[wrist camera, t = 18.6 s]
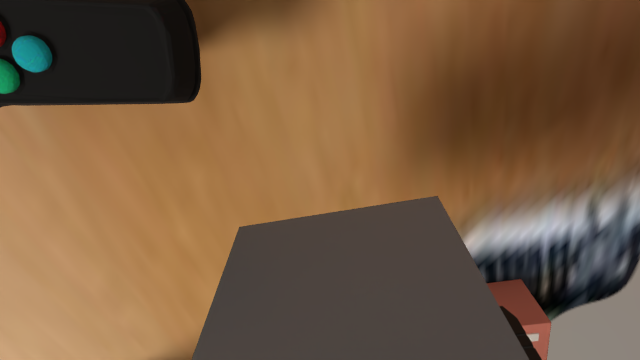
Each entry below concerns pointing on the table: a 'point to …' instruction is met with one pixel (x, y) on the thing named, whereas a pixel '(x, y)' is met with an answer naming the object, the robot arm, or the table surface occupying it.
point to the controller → (98, 52)
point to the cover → (356, 291)
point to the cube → (524, 312)
